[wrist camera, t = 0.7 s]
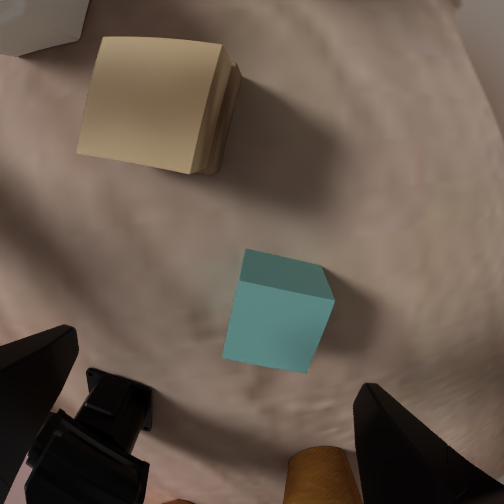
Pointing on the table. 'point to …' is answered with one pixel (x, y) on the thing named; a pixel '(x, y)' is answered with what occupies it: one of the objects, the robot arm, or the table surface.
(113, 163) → the table surface
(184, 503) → the whiskey bottle
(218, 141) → the tower base
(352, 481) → the disposable coffee cup
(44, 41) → the medicine bottle
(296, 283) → the teal block
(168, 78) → the tower top
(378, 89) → the table surface
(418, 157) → the table surface
